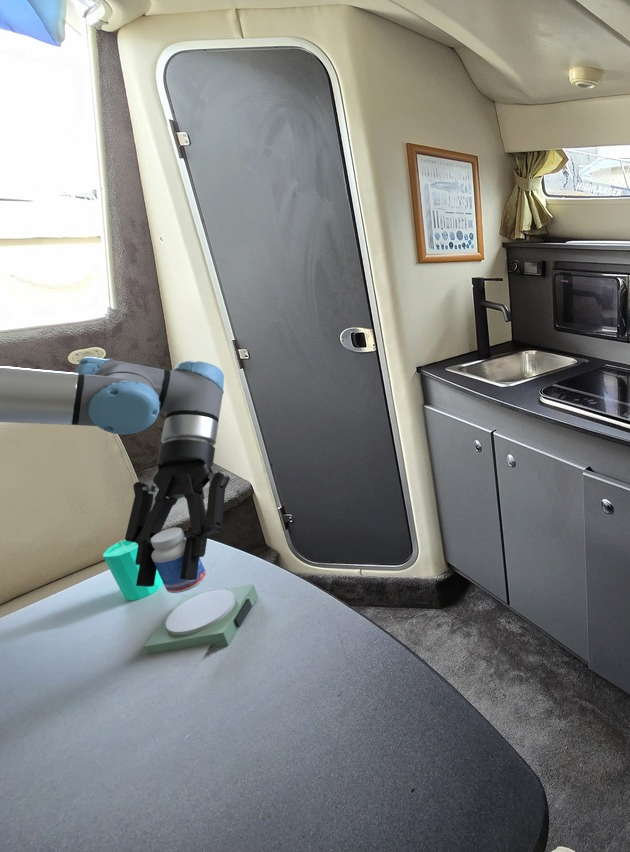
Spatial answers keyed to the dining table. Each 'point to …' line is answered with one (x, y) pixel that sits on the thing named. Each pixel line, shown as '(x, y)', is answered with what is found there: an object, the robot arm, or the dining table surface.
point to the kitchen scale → (203, 619)
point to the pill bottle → (173, 560)
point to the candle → (128, 570)
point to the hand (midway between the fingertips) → (166, 582)
